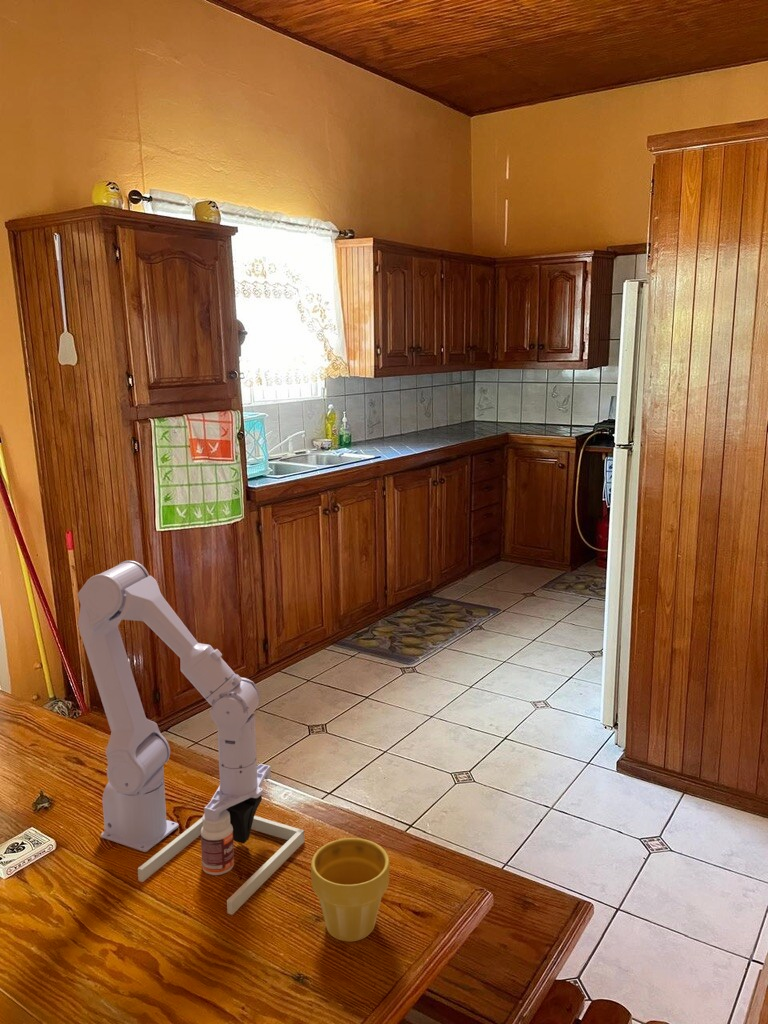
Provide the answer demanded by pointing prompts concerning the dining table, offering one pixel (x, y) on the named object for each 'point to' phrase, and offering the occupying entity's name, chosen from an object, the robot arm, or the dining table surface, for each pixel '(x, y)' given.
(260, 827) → the white u-shaped open frame
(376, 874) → the plant pot
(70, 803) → the dining table surface
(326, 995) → the dining table surface
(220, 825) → the pill bottle
